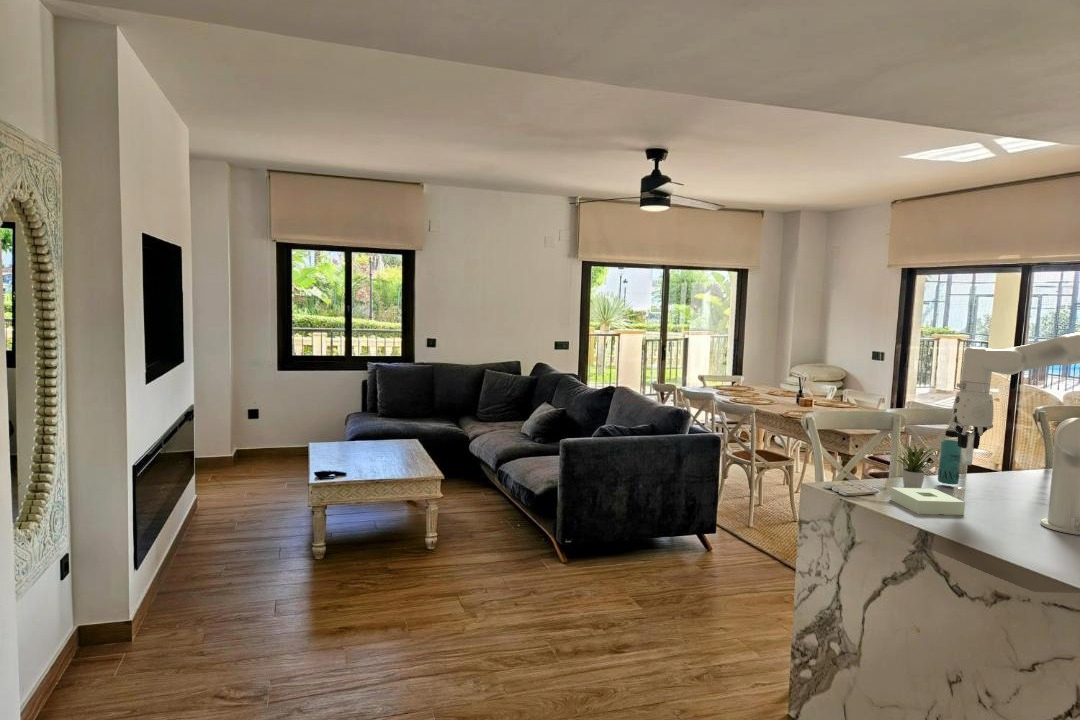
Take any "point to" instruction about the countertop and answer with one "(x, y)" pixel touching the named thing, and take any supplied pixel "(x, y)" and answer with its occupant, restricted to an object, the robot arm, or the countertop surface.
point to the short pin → (959, 493)
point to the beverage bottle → (949, 460)
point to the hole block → (927, 501)
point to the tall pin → (968, 449)
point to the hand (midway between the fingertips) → (967, 447)
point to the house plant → (914, 467)
